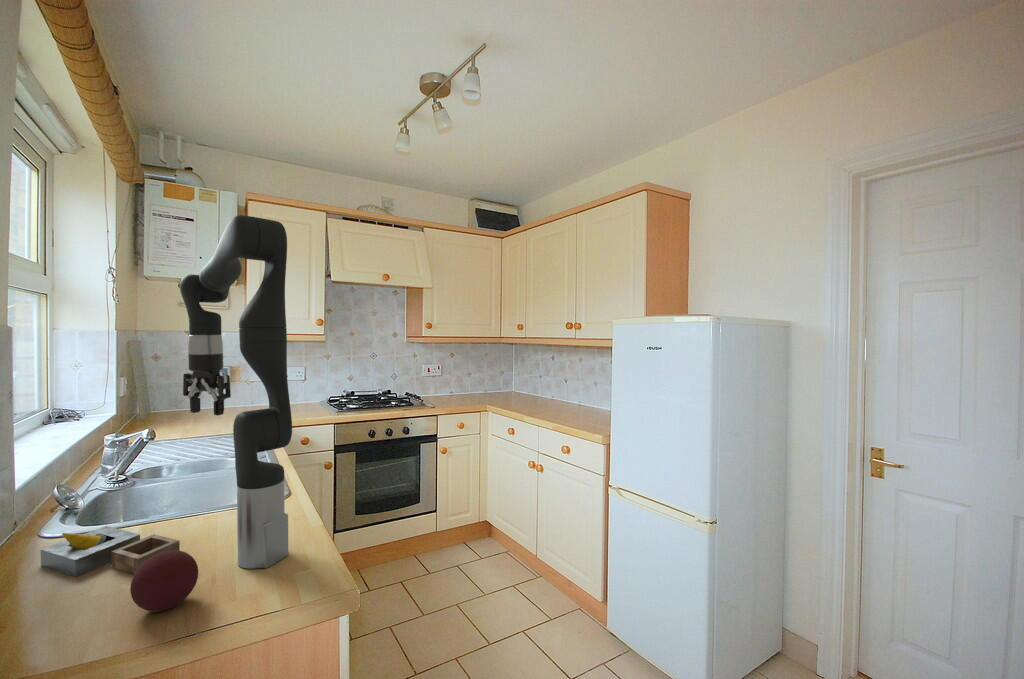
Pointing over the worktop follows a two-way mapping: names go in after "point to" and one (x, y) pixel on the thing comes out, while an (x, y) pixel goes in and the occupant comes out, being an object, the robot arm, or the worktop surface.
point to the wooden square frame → (141, 552)
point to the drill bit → (84, 540)
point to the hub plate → (86, 552)
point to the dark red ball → (164, 580)
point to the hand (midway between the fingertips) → (206, 413)
